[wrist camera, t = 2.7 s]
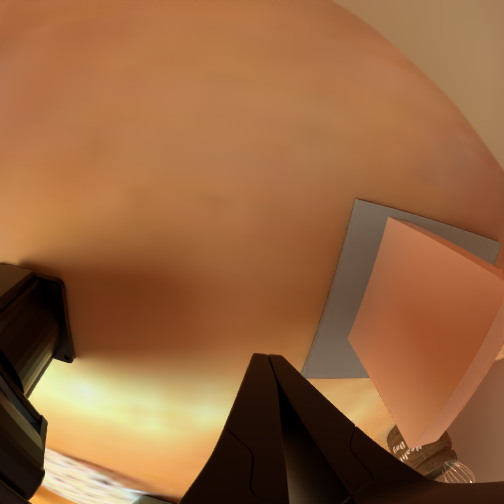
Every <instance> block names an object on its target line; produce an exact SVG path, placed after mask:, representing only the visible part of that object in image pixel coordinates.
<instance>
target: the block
mask: <svg viewBox="0 0 504 504" xmlns="http://www.w3.org/2000/svg"><path fill="white" fill-rule="evenodd" d="M348 341H349V342H350V344H351V346H352V347H353V349H354V351H355V352H356V354H357V356H358V358H359V359H360V361H361V363H362V365H363V366H364V368H365V370H366V371H367V373H368V375H369V377H370V378H371V380H372V382H373V384H374V386H375V387H376V389H377V391H378V393H379V394H380V396H381V398H382V400H383V402H384V403H385V405H386V407H387V409H388V411H389V412H390V414H391V416H392V418H393V420H394V422H395V423H396V425H397V427H398V429H399V431H400V433H401V435H402V436H403V438H404V440H405V442H406V444H407V446H408V448H409V449H411V448H415V447H419V446H422V445H426V444H429V443H432V442H435V441H437V440H438V439H439V438H440V436H441V435H442V434H443V433H444V432H445V430H446V429H447V428H448V427H449V426H450V424H451V423H452V422H453V421H454V419H455V418H456V417H457V415H458V414H459V413H460V411H461V410H462V409H463V407H464V406H465V405H466V403H467V402H468V400H469V399H470V398H471V396H472V395H473V393H474V392H475V390H476V389H477V387H478V386H479V384H480V383H481V381H482V380H483V378H484V377H485V375H486V373H487V372H488V370H489V368H490V366H491V365H492V363H493V362H494V360H495V358H496V356H497V355H498V353H499V351H500V349H501V347H502V346H503V344H504V272H503V271H501V270H499V269H498V268H496V267H494V266H493V265H491V264H489V263H488V262H486V261H484V260H482V259H481V258H479V257H477V256H475V255H473V254H472V253H470V252H468V251H466V250H464V249H462V248H461V247H459V246H457V245H455V244H453V243H451V242H449V241H447V240H445V239H443V238H442V237H440V236H438V235H436V234H434V233H432V232H430V231H428V230H426V229H424V228H422V227H419V226H417V225H415V224H413V223H411V222H407V221H403V220H399V219H395V218H391V217H388V219H387V223H386V227H385V230H384V234H383V237H382V241H381V244H380V247H379V251H378V254H377V257H376V261H375V264H374V267H373V270H372V273H371V276H370V279H369V282H368V285H367V288H366V291H365V294H364V296H363V299H362V302H361V305H360V308H359V310H358V313H357V316H356V318H355V321H354V323H353V326H352V329H351V331H350V334H349V336H348Z"/></svg>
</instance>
